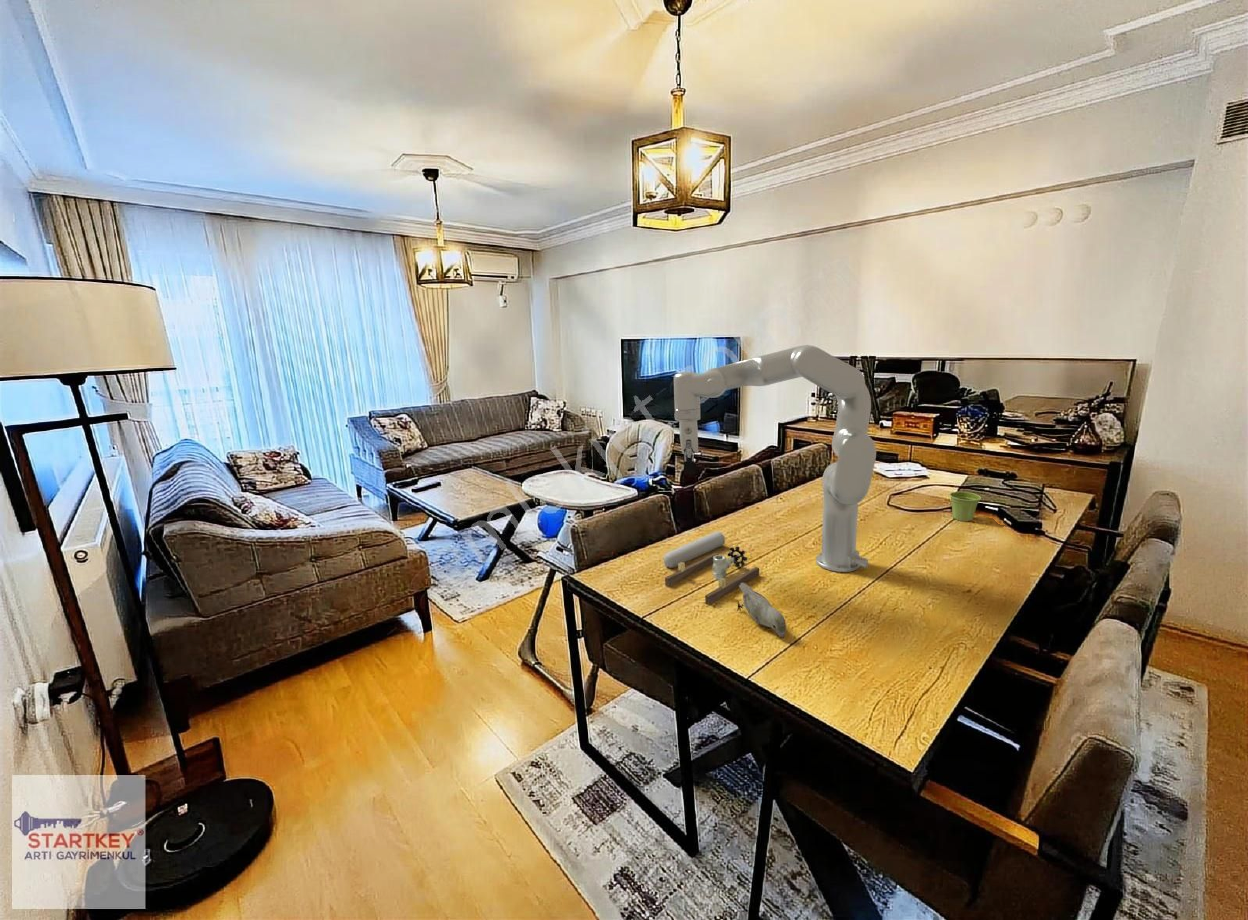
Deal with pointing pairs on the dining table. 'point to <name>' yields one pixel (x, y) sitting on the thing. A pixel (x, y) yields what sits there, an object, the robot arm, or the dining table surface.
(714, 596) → the guide track
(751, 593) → the decorative bird
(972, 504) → the plant pot
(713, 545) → the tube
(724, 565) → the valve
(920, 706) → the dining table surface
